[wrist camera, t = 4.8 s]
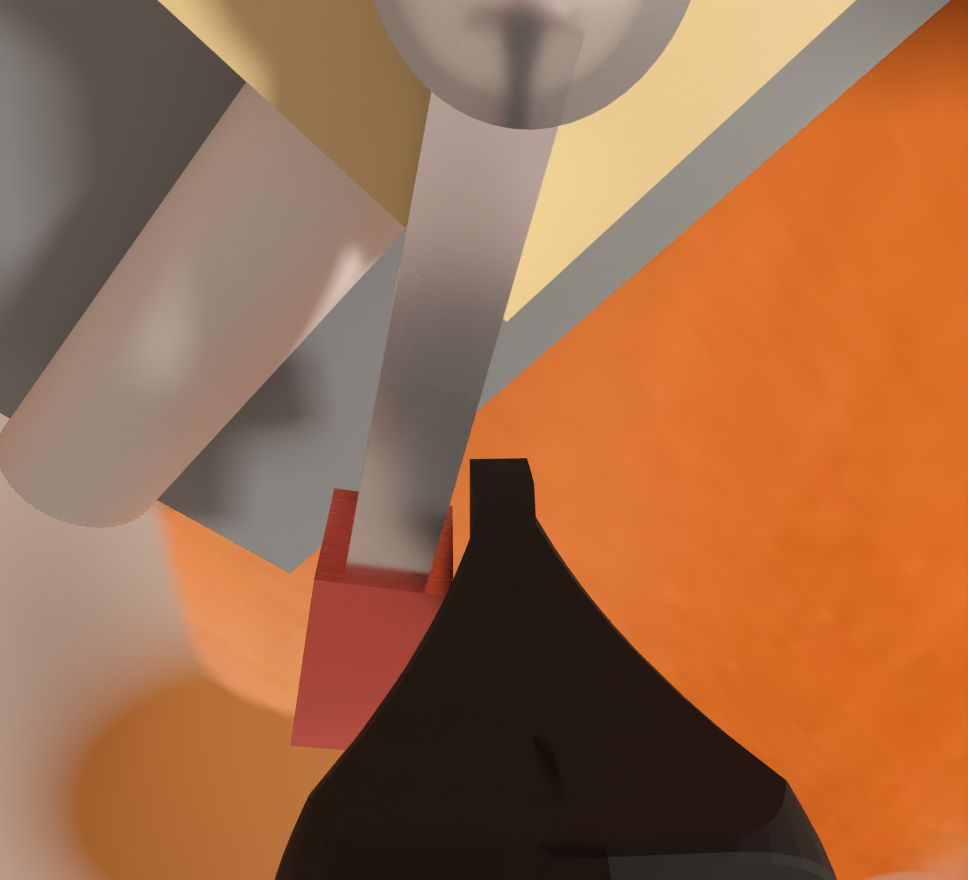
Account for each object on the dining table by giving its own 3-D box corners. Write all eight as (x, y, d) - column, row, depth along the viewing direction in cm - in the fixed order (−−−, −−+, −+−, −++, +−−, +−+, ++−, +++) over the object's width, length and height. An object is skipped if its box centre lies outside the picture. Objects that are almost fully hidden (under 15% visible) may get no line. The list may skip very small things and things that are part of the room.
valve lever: (697, -187, 6) (788, -247, 4) (425, 663, 14) (422, 756, 12) (404, -299, 6) (388, -409, 4) (289, 647, 13) (267, 743, 11)
